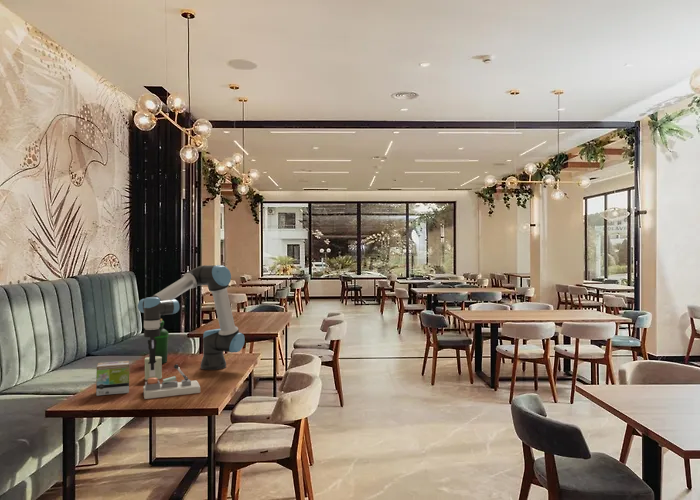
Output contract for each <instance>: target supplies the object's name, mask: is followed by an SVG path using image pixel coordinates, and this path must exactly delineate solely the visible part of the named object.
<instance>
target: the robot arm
mask: <svg viewBox="0 0 700 500" xmlns="http://www.w3.org/2000/svg"><path fill="white" fill-rule="evenodd" d="M231 279H232V274H231V271H230V269H229V268H228V267H226V266H225V265H219V264H217V265H216V264H215V265H210V264H209V265H206V264H205V265H203V264H202V265H199V266H197V267H195V268H193V269H190V270H189V271H188V272H186V273H184V274H183V275H182V277H181V278H180V279H178V280H176V281H175V282H173V283H171V284H170V285H168V286H166V287H165V288H163V289H162V290H160V291H159V292H157V293H155V294H153V295H152V296H150V297H145V298H142V299H140V300H139V301H138V304H137V310H138V311H139V312H141V313H142V314H143V329H144V330H143V337H145V338H149V339H148V340H147V344H148V351H149V353H148V355H149V356H148V357H149V362H148V364H149V377H152V376H155V362H156V361H155V349H156V344H157V340H155V337H158V336H160V329H159V328H160V324H159V323H161V321H160V319H161V316H165V315H174V314H176V313H178V312H179V311H180V303H179V300H177V299H176V298H178V297H179V296H180V295H182V294H184V293H186V292H187V291H189V290H190V289H194V288H196V287H198V286H207V288H208V292H211V295H212V300H213V302H214V306H215V312H216V315H217V321H218V324H219V328H215V329H209V330H204V332H203V337H202V344H203V345H202V347H203V356H202V359H201V362H200V369H201V370H204V371H206V370H207V371H215V370H221V369H225V368H226V367H227V362H226V358H225V356H224V352H226V353H238V352H241V350H242V349H243V347H244V345H245V335H244V333H242V332H240V330H239V327H238V326H237V325H235V320H234V316H233V312H232V307H231V303H230V297H229V292H228V288H229V285H230V283H231Z"/></svg>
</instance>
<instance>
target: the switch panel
mask: <svg viewBox="0 0 700 500" xmlns="http://www.w3.org/2000/svg"><path fill="white" fill-rule="evenodd" d="M200 393H201V386H200V383H199V382H198V380H191V379H189V378H188V380H185V379H181V381H178V380H174V381H170V382H166V383H164V382H163V381H161V382H160V380H158V383H157V384H148V381H144V385H143V397H144V400H146V399H147V400H148V399H157V398H165V397H173V396H182V395H191V394H200Z"/></svg>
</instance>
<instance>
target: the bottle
mask: <svg viewBox="0 0 700 500" xmlns="http://www.w3.org/2000/svg"><path fill="white" fill-rule="evenodd" d="M160 321H161V323H159V324H160V328H159V329H160V336H158V337H155V340H157V344H156V349H155V356H160V357H162V364H163V365H164V364H166V363H167V362H168V354H169V352H168V351H169V350H168V349H169V348H168V347H169V331H168V330H167V329H165V328H164V325H165V321H164V320H163V318H160Z"/></svg>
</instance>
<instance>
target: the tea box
mask: <svg viewBox="0 0 700 500" xmlns="http://www.w3.org/2000/svg"><path fill="white" fill-rule="evenodd" d="M95 374H96V375H95V376H96V377H95V378H96V382H95V383H96V386H95V387H96V389H95V391H96V396H97V397H98V396H99V397H100V396H105V395H119V394H129V392H130V360H121V361H110V362H109V361H107V362H98V363H97V366H96V373H95Z"/></svg>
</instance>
